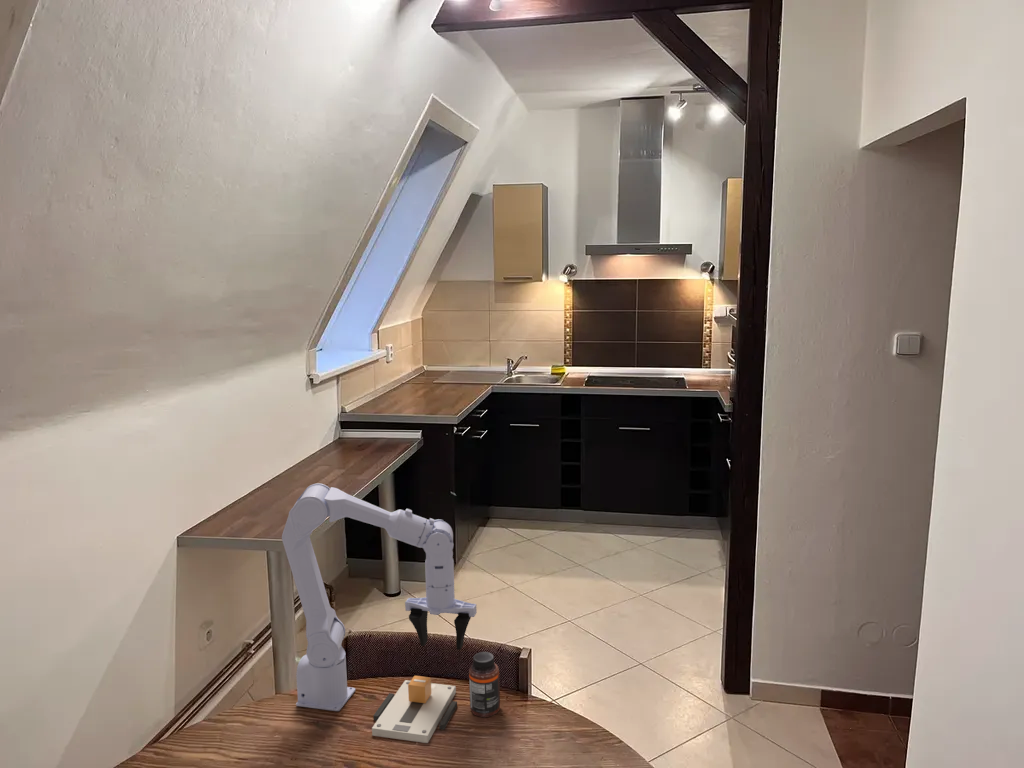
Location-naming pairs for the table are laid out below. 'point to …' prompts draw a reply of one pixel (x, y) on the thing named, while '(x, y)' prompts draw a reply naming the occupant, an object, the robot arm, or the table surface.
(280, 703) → the table surface
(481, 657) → the supplement bottle
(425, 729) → the panel
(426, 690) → the orange cube
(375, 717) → the twin dark grey rails
